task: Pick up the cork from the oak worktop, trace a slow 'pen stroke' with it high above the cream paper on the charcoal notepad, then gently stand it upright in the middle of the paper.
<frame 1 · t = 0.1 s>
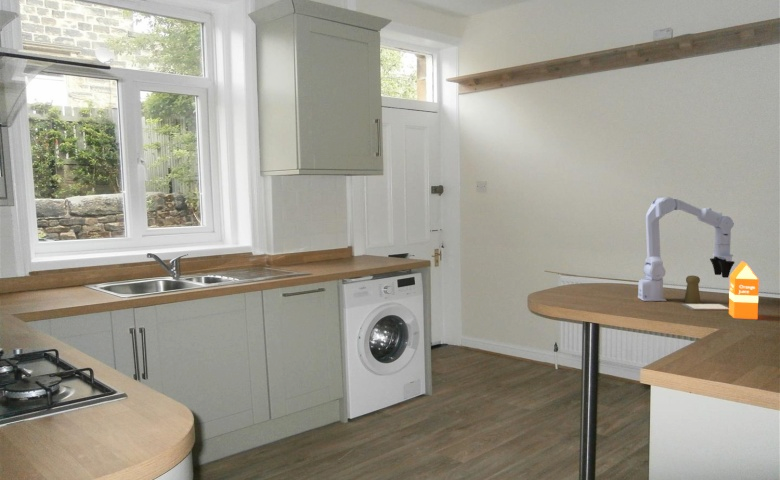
hand: (721, 276, 250), 10 cm above the counter, fingers open, 7 cm apart
cork: (692, 302, 247), on the counter
orange juice: (742, 316, 218), on the counter
notepad: (707, 307, 235), on the counter
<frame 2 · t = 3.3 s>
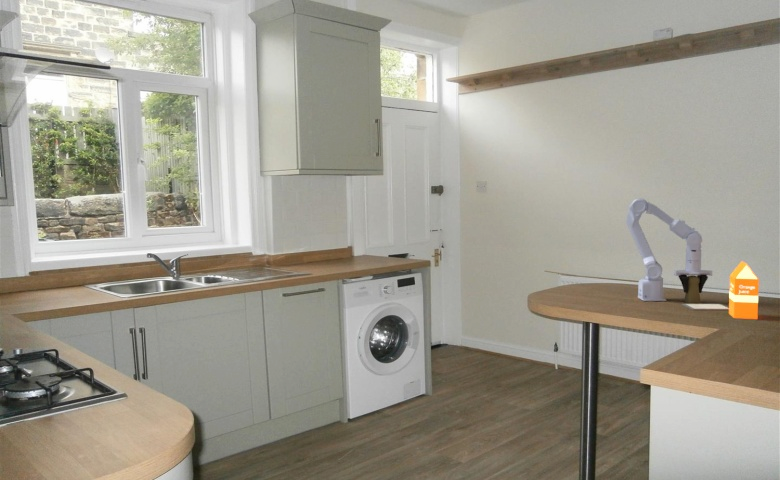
hand: (692, 292, 246), 4 cm above the counter, fingers closed on cork, 5 cm apart
cork: (692, 302, 247), on the counter, touching gripper
everything else where it was.
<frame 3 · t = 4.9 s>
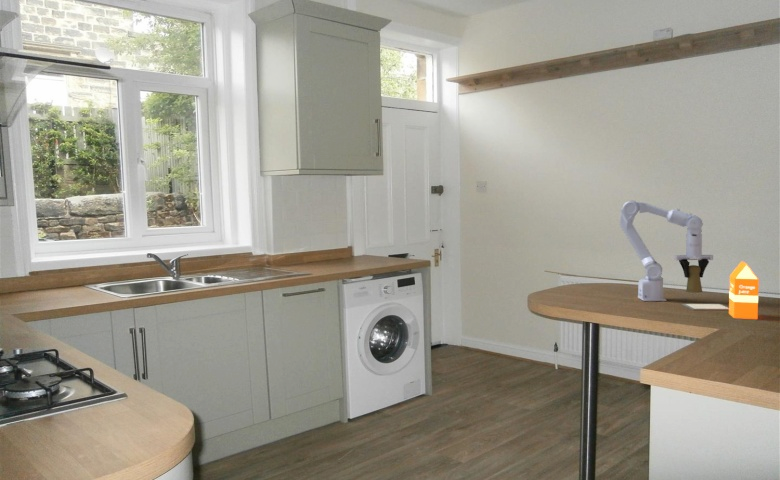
hand: (693, 277, 246), 10 cm above the counter, fingers closed on cork, 5 cm apart
cork: (694, 292, 246), point 4 cm above the counter, touching gripper
everything else where it was.
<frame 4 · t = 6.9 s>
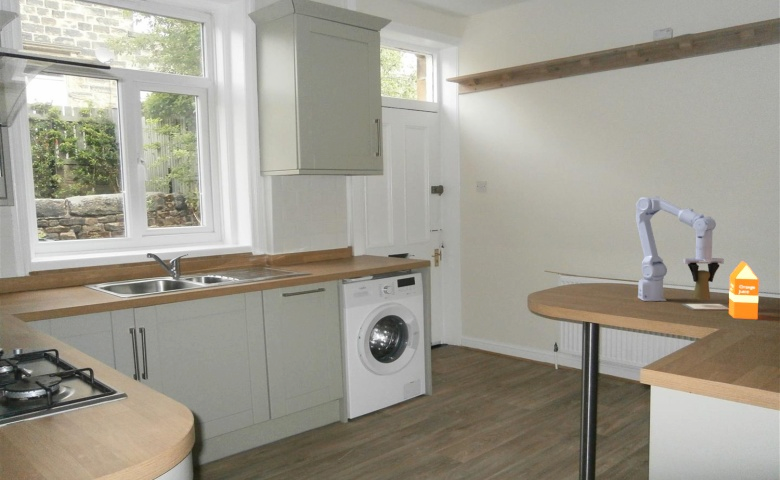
hand: (702, 281, 234), 10 cm above the counter, fingers closed on cork, 5 cm apart
cork: (701, 298, 235), point 4 cm above the counter, touching gripper
everything else where it was.
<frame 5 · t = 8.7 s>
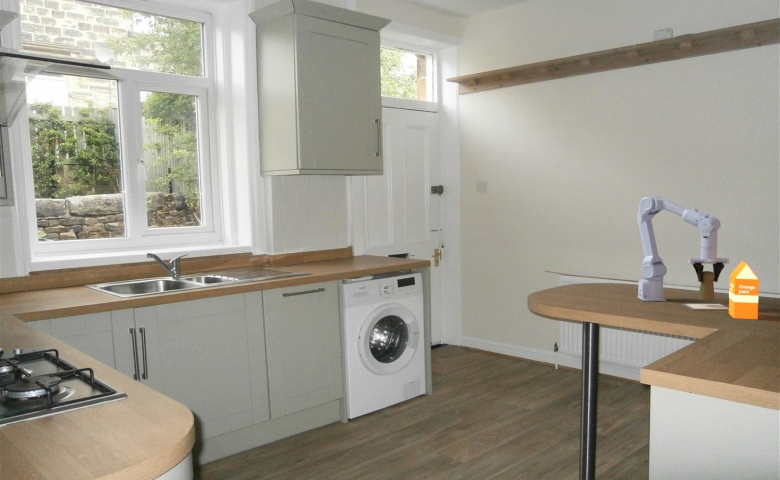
hand: (707, 281, 234), 10 cm above the counter, fingers closed on cork, 5 cm apart
cork: (706, 299, 235), point 3 cm above the counter, touching gripper
everything else where it was.
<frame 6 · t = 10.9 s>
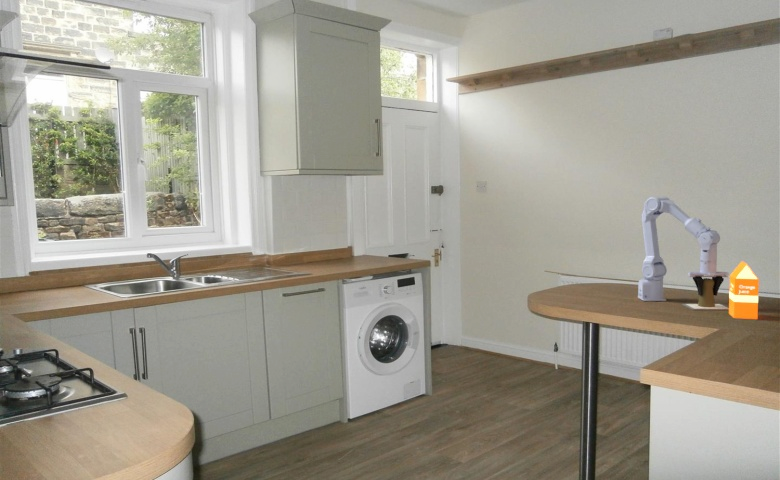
hand: (707, 295, 234), 5 cm above the counter, fingers closed on cork, 5 cm apart
cork: (706, 306, 235), resting on notepad, touching gripper
everything else where it was.
when the fingers open (5 cm above the counter, at t = 11.3 s): cork stays where it is, resting on notepad.
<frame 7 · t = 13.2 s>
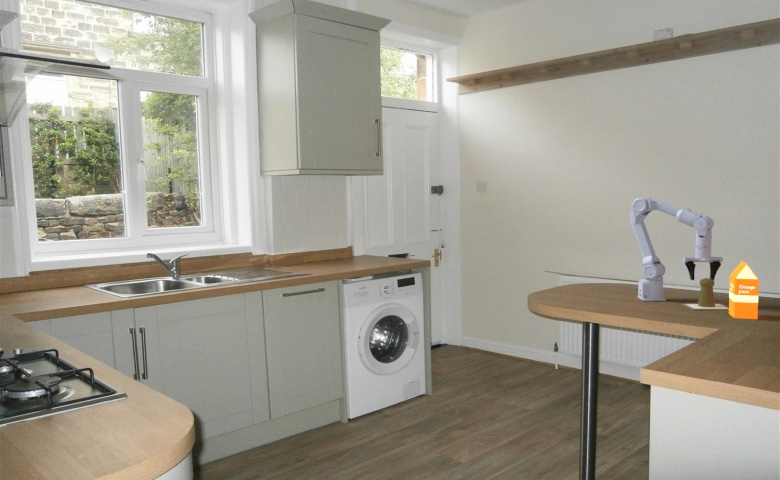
hand: (702, 279, 239), 10 cm above the counter, fingers open, 7 cm apart
cork: (706, 306, 235), resting on notepad
everything else where it was.
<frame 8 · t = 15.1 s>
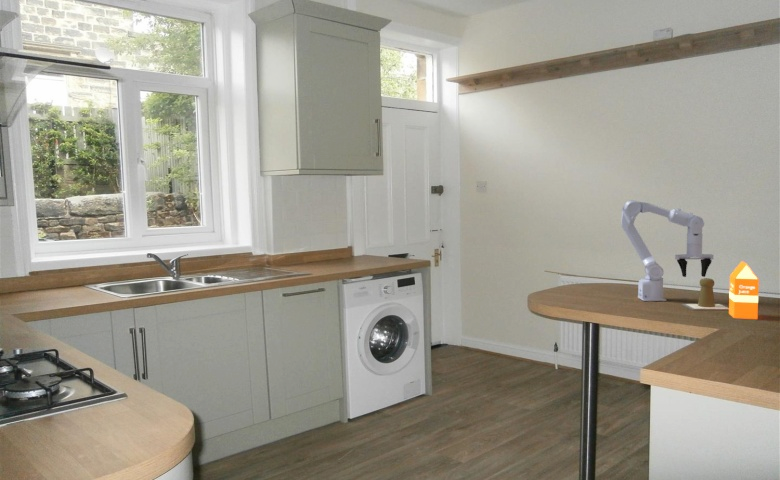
hand: (693, 276, 248), 10 cm above the counter, fingers open, 7 cm apart
nothing on the counter moved.
at the end: cork inside the target area on the notepad (0.8 cm from its centre), point 0.3 cm above the notepad's base; cork tilted 0°; the gripper is holding nothing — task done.
